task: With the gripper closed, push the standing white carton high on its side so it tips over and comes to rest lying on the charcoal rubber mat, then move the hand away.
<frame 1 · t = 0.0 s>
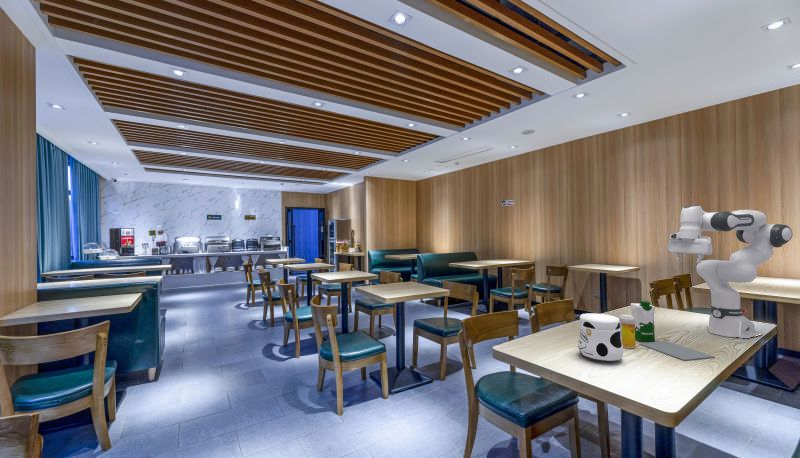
hand: (688, 262, 177), 39 cm above the table, tool pointing down, fingers open, 8 cm apart
white carton: (643, 340, 174), on the table
beer can: (627, 347, 164), on the table
milk container: (600, 358, 151), on the table
mat: (674, 350, 158), on the table
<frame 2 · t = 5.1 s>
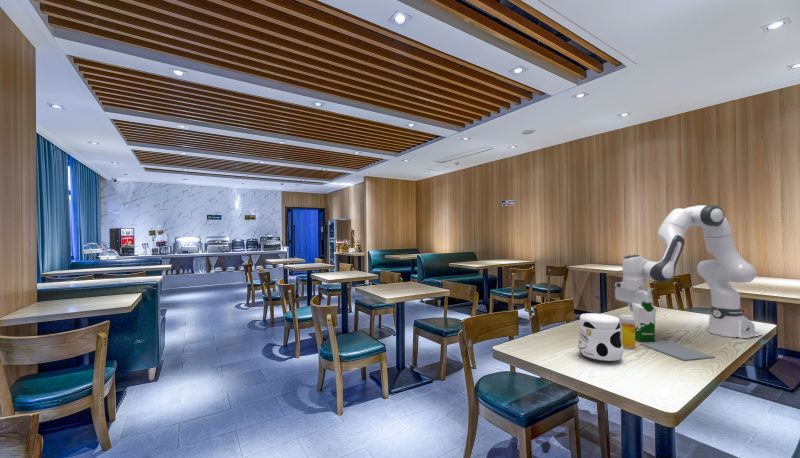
hand: (633, 311, 179), 13 cm above the table, tool pointing down, fingers closed
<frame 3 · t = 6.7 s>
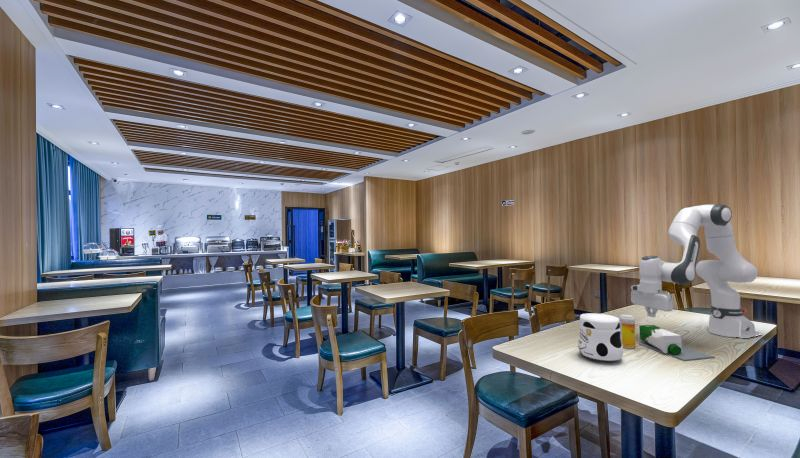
hand: (651, 316, 169), 13 cm above the table, tool pointing down, fingers closed
white carton: (646, 331, 171), point 5 cm above the table, touching mat
everything else where it was.
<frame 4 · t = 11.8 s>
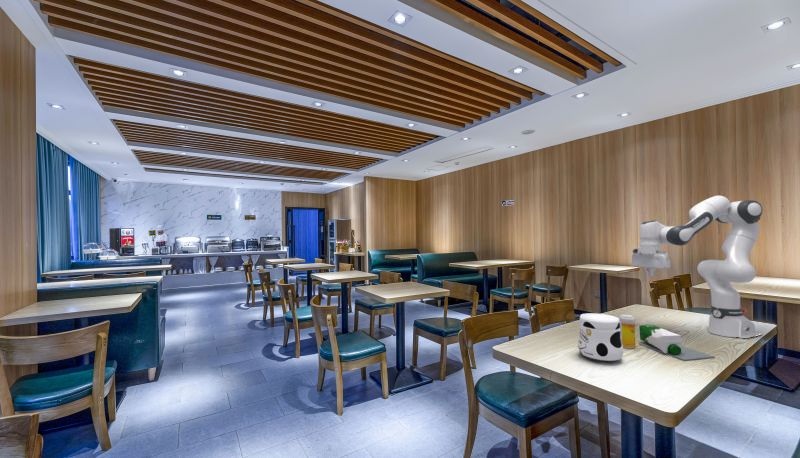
hand: (650, 275, 185), 31 cm above the table, tool pointing down, fingers closed
nothing on the table moved.
at the end: white carton tilted 90°; white carton touching mat; beer can moved 0.2 cm from its start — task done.
